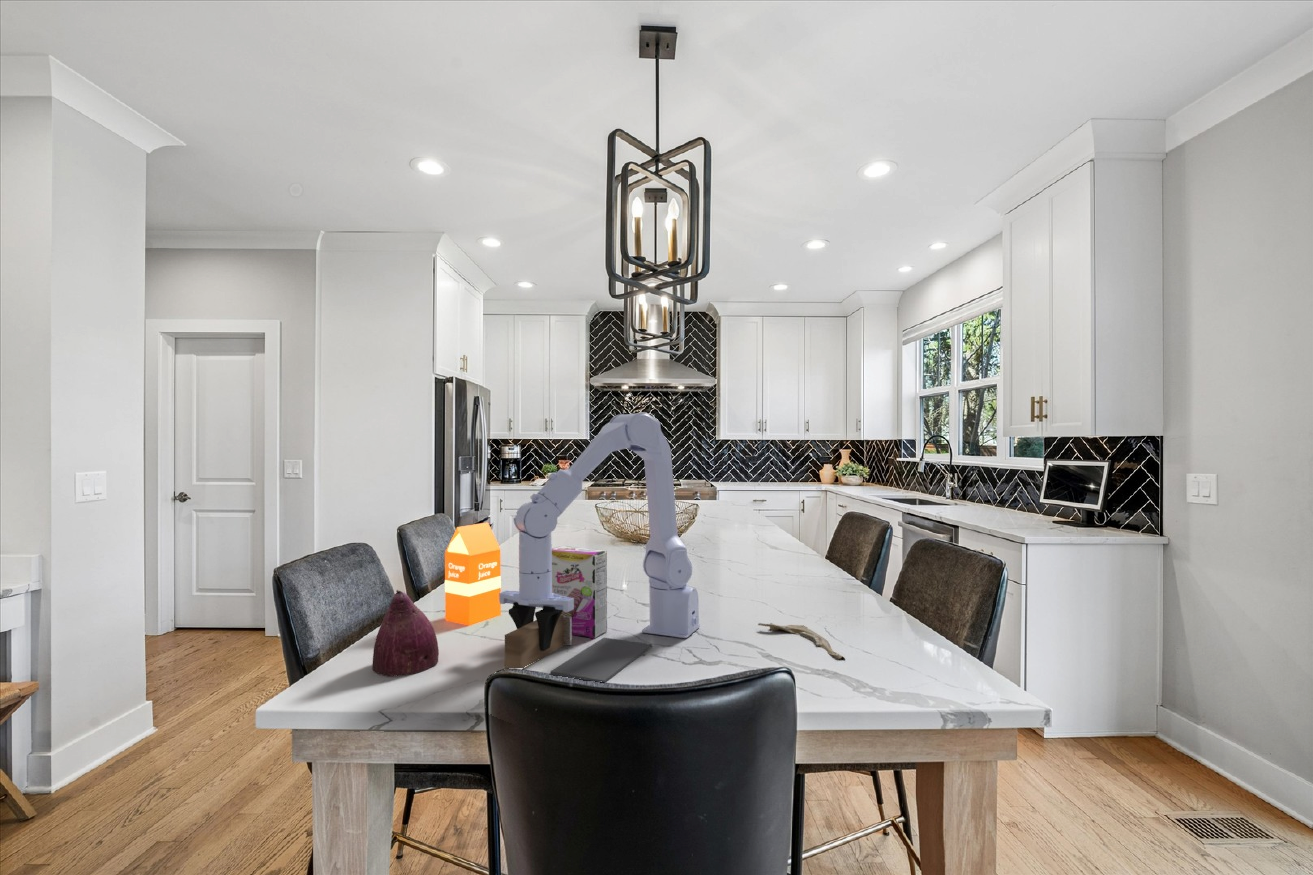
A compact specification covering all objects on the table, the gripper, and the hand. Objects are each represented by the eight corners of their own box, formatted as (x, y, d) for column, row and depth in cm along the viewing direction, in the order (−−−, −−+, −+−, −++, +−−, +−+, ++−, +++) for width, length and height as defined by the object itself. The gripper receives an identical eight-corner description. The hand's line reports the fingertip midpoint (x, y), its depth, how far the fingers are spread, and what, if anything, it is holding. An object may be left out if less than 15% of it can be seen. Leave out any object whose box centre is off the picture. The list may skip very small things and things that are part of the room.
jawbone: (788, 627, 124) (788, 617, 124) (874, 658, 107) (875, 646, 107) (756, 632, 119) (757, 621, 119) (842, 665, 102) (842, 652, 102)
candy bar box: (546, 632, 119) (546, 549, 119) (561, 624, 123) (560, 545, 123) (595, 639, 114) (594, 553, 114) (608, 632, 118) (607, 549, 119)
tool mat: (651, 646, 110) (651, 644, 110) (604, 683, 94) (604, 680, 94) (603, 639, 114) (603, 637, 114) (550, 673, 98) (550, 671, 98)
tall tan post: (527, 671, 99) (527, 638, 99) (498, 666, 101) (497, 633, 101) (571, 645, 111) (571, 615, 111) (544, 641, 113) (544, 612, 113)
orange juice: (444, 620, 127) (443, 526, 128) (477, 609, 135) (476, 521, 135) (469, 625, 123) (469, 528, 123) (501, 615, 131) (501, 523, 131)
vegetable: (415, 696, 97) (412, 614, 93) (359, 683, 99) (353, 602, 95) (451, 658, 107) (449, 582, 103) (399, 647, 109) (395, 572, 105)
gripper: (487, 571, 105) (488, 649, 105) (557, 578, 99) (558, 660, 99) (512, 564, 112) (513, 637, 112) (579, 570, 106) (580, 647, 106)
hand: (536, 647), depth 106 cm, fingers closed on tall tan post, 3 cm apart
